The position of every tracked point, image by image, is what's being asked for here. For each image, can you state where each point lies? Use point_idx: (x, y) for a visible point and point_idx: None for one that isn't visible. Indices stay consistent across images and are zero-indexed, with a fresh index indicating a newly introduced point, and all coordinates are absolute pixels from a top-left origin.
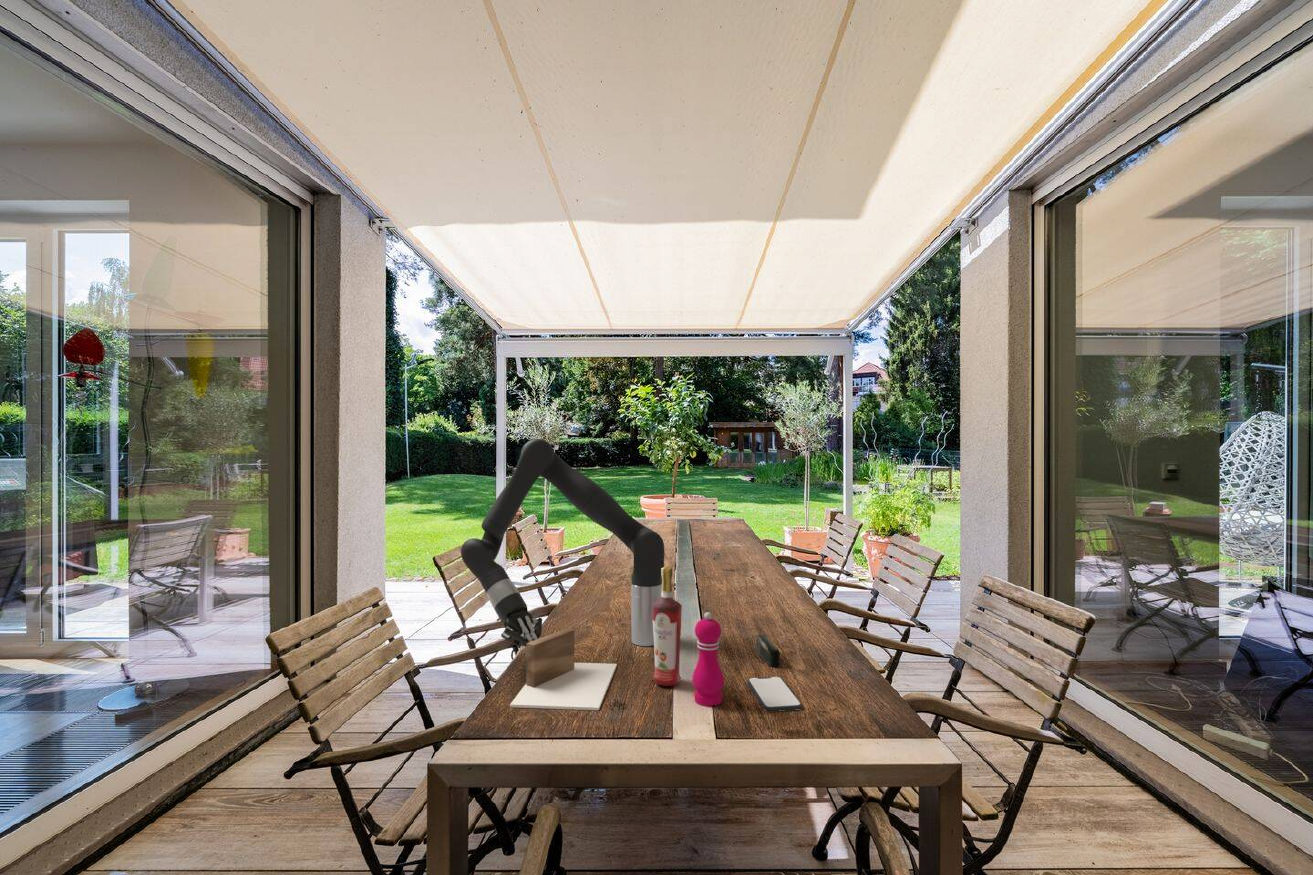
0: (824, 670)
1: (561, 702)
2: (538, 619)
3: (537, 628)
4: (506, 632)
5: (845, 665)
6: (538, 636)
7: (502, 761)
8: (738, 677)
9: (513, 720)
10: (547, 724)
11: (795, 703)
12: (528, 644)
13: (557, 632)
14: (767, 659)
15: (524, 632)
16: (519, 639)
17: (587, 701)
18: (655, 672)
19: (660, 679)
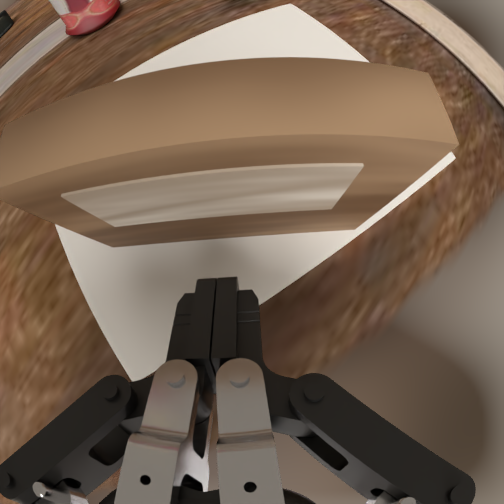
0: (19, 5)
1: (342, 58)
2: (19, 491)
3: (84, 441)
4: (461, 478)
5: (7, 10)
6: (130, 384)
7: (491, 58)
8: (49, 10)
9: (461, 109)
10: (409, 47)
11: None
12: (447, 125)
13: (68, 157)
14: (2, 29)
15: (276, 453)
16: (360, 401)
17: (287, 25)
18: (101, 6)
19: (115, 2)
